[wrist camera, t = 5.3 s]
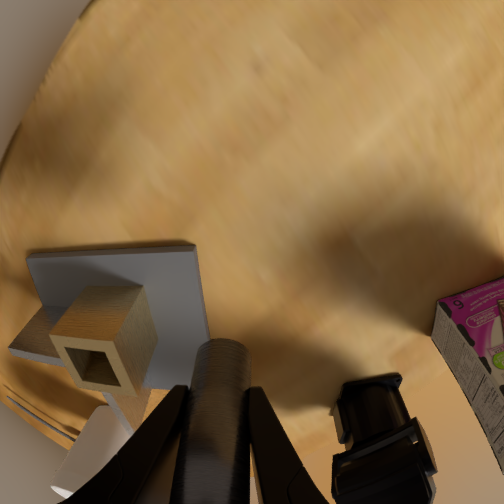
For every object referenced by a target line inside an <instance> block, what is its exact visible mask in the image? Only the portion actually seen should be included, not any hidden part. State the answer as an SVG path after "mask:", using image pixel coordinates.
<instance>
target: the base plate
mask: <svg viewBox="0 0 504 504" xmlns="http://www.w3.org/2000/svg"><path fill="white" fill-rule="evenodd" d="M26 261H27V264H28V267H29V270H30V273H31V276H32V279H33V281H34V284H35V287H36V289H37V292H38V295H39V297H40V300H41V302H42V304H43V305H46V306H60V307H70V306H71V304H72V303H73V302H74V301H75V299H76V298H77V297H78V296H79V295H80V293H81V292H82V291H83V290H84V288H85V287H86V286H144V289H145V293H146V297H147V300H148V304H149V308H150V312H151V315H152V319H153V322H154V326H155V329H156V333H157V336H158V342H157V345H156V347H155V350H154V353H153V356H152V358H151V361H150V364H149V367H148V370H147V372H148V374H149V377H150V379H151V382H152V384H153V387H152V388H154V389H166V390H171V389H172V388H173V387H174V386H175V385H176V384H180V385H187V386H188V387H189V389H190V384H191V379H192V374H193V369H194V364H195V359H196V355H197V351H198V349H199V347H200V346H201V345H202V344H203V343H205V342H207V341H209V340H210V335H209V329H208V323H207V317H206V311H205V304H204V298H203V292H202V285H201V278H200V271H199V264H198V257H197V249H196V245H188V246H166V247H145V248H125V249H105V250H86V251H68V252H50V253H33V254H31V255H30V256H28V257H27V258H26Z"/></svg>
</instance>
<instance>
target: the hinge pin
mask: <svg viewBox="0 0 504 504" xmlns="http://www.w3.org/2000/svg"><path fill="white" fill-rule="evenodd" d="M249 387H251V355H250V352H249V351H248V349H247V348H246V347H245V346H244V345H242V344H241V343H239V342H237V341H234V340H230V339H223V338H220V339H212V340H209V341H207V342H205V343H203V344H202V345H201V346H200V347H199V349H198V351H197V355H196V359H195V364H194V369H193V374H192V379H191V384H190V389H189V394H188V399H187V404H186V409H185V414H184V419H183V425H182V430H181V435H180V441H179V446H178V452H177V458H176V463H175V469H174V475H173V481H172V487H171V493H170V499H169V504H250V435H249V426H248V393H249Z"/></svg>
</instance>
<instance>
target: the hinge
mask: <svg viewBox="0 0 504 504" xmlns="http://www.w3.org/2000/svg"><path fill="white" fill-rule="evenodd" d="M157 342H158V336H157V333H156V329H155V326H154V322H153V319H152V315H151V312H150V308H149V304H148V300H147V297H146V293H145V289H144V286H86V287H85V288H84V290H83V291H82V292H81V293H80V295H79V296H78V297H77V298H76V299H75V301H74V302H73V303H72V304H71V306H70V307H60V306H46V305H43V306H42V307H41V308H40V309H39V310H38V311H37V313H36V314H35V315H34V316H33V317H32V318H31V320H30V321H29V322H28V323H27V324H26V326H25V327H24V328H23V329H22V330H21V332H20V333H19V334H18V335H17V337H16V338H15V339H14V340H13V342H12V343H11V344H10V345H9V347H8V349H9V350H10V352H11V354H12V355H13V356H17V357H21V358H25V359H29V360H34V361H38V362H43V363H47V364H52V365H57V366H62V367H66V368H67V370H68V372H69V374H70V375H71V377H72V379H73V380H74V382H75V384H76V385H77V387H79V388H84V389H89V390H94V391H100V392H102V394H103V396H104V397H105V399H106V401H107V402H108V404H109V406H110V407H111V409H112V410H113V412H114V414H115V415H116V417H117V418H118V420H119V421H120V423H121V424H122V426H123V427H124V429H125V430H126V432H127V433H128V435H130V436H132V435H133V433H134V432H135V431H136V430H137V429H138V428H139V427H140V425H141V424H142V420H143V417H144V413H145V410H146V407H147V403H148V400H149V397H150V394H151V390H152V387H153V384H152V382H151V379H150V377H149V374H148V372H147V370H148V367H149V364H150V361H151V358H152V356H153V353H154V350H155V347H156V345H157Z"/></svg>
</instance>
